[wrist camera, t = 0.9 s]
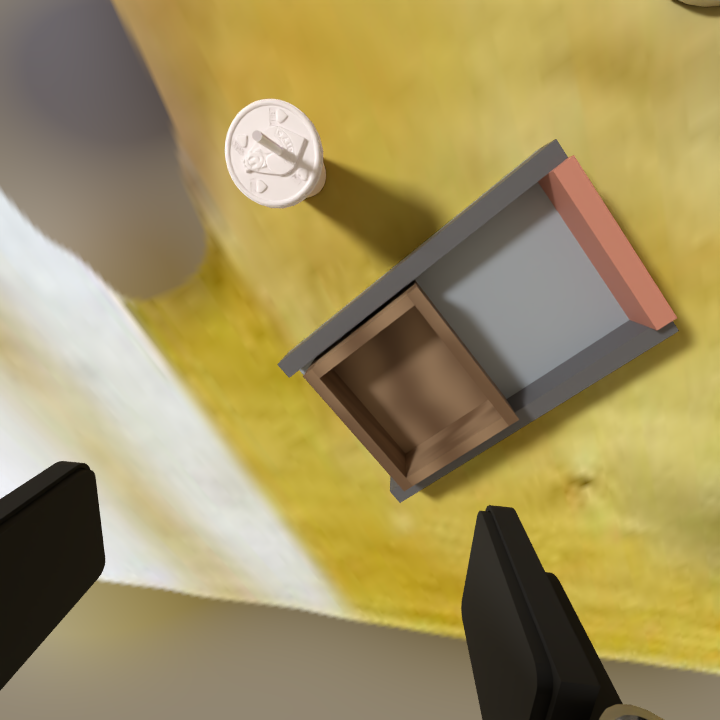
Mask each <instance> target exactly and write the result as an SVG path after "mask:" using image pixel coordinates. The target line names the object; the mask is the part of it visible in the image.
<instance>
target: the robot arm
mask: <svg viewBox="0 0 720 720" xmlns="http://www.w3.org/2000/svg"><path fill="white" fill-rule="evenodd" d="M679 1H681V2H684V3H686V4H690V5H696V6H703V7H708V6H720V0H679ZM104 566H105V553H104V544H103V536H102V528H101V519H100V511H99V502H98V494H97V485H96V477H95V473H94V472H93V471H91V470H90V467H89V466H88V465H87V464H85V463H77V462H67V461H59V462H57V463H55V464H53V465H52V466H50V467H49V468H47V469H46V470H44V471H43V472H41V473H40V474H38V475H37V476H35V477H33V478H32V479H30V480H29V481H27V482H26V483H24V484H23V485H21V486H20V487H18V488H17V489H15V490H14V491H12V492H11V493H9V494H7V495H6V496H4V497H3V498H1V499H0V690H1V689H2V688H3V687H4V686H5V685H6V683H7V682H8V681H9V680H10V679H11V678H12V677H13V675H14V674H15V673H16V672H17V671H18V669H19V668H20V667H21V666H22V665H23V664H24V663H25V662H26V660H27V659H28V658H29V657H30V656H31V655H32V654H33V652H34V651H35V650H36V649H37V648H38V647H39V646H40V644H41V643H42V642H43V641H44V640H45V639H46V638H47V636H48V635H49V634H50V633H51V632H52V631H53V629H54V628H55V627H56V626H57V625H58V624H59V623H60V621H61V620H62V619H63V618H64V617H65V616H66V615H67V613H68V612H69V611H70V610H71V609H72V608H73V607H74V605H75V604H76V603H77V602H78V601H79V600H80V598H81V597H82V596H83V595H84V594H85V593H86V592H87V590H88V589H89V588H90V587H91V586H92V585H93V584H94V582H95V581H96V580H97V579H98V578H99V576H100V575H101V573H102V571H103V569H104ZM461 609H462V620H463V625H464V630H465V635H466V640H467V645H468V650H469V655H470V659H471V664H472V669H473V674H474V679H475V685H476V689H477V694H478V699H479V704H480V709H481V714H482V719H483V720H664V719H662V718H660V717H658V716H657V715H655V714H653V713H651V712H650V711H648V710H645V709H642V708H639V707H636V706H633V705H627V704H622V702H621V700H620V698H619V696H618V694H617V692H616V690H615V688H614V686H613V684H612V682H611V680H610V678H609V677H608V675H607V673H606V671H605V669H604V667H603V665H602V663H601V661H600V659H599V657H598V655H597V653H596V651H595V649H594V647H593V645H592V643H591V641H590V640H589V638H588V636H587V634H586V632H585V630H584V628H583V626H582V624H581V622H580V620H579V618H578V616H577V614H576V612H575V610H574V608H573V607H572V605H571V603H570V601H569V599H568V597H567V595H566V593H565V591H564V589H563V587H562V585H561V583H560V581H559V580H558V578H557V577H556V576H555V575H554V574H552V573H548V572H545V571H544V569H543V567H542V565H541V563H540V560H539V558H538V556H537V554H536V552H535V550H534V548H533V546H532V544H531V542H530V540H529V538H528V536H527V534H526V532H525V530H524V528H523V525H522V523H521V521H520V519H519V517H518V515H517V513H516V511H515V510H514V508H510V507H501V506H491V505H489V506H487V508H486V511H479V512H478V515H477V520H476V526H475V531H474V537H473V542H472V548H471V553H470V559H469V564H468V570H467V575H466V581H465V586H464V592H463V597H462V607H461Z"/></svg>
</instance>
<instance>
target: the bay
mask: <svg viewBox="0 0 720 720" xmlns="http://www.w3.org/2000/svg"><path fill="white" fill-rule="evenodd" d="M414 280H416V282H417V283H418V284H419V286H420V287H421V288H422V290H423V291H424V292H425V294H426V295H427V296H428V297H429V299H430V300H431V301H432V303H433V304H434V305H435V307H436V308H437V309H438V310H439V312H440V313H441V314H442V316H443V317H444V318H445V320H446V321H447V322H448V323H449V325H450V326H451V327H452V329H453V330H454V331H455V333H456V334H457V335H458V336H459V338H460V339H461V340H462V342H463V343H464V344H465V346H466V347H467V348H468V349H469V351H470V352H471V353H472V355H473V356H474V357H475V359H476V360H477V361H478V362H479V364H480V365H481V366H482V368H483V369H484V370H485V372H486V373H487V374H488V375H489V377H490V378H491V379H492V381H493V382H494V383H495V385H496V386H497V387H498V388H499V390H500V391H501V392H502V394H503V395H504V396H505V398H506V399H507V401H508V403H509V404H510V406H511V407H512V409H513V410H514V412H515V414H516V415H517V417H518V418H519V420H518V421H516V422H515V423H513V424H512V425H510V426H508V427H507V428H505V429H504V430H502V431H500V432H499V433H497V434H496V435H494V436H492V437H491V438H489V439H488V440H486V441H484V442H483V443H481V444H480V445H478V446H476V447H475V448H473V449H472V450H470V451H468V452H467V453H465V454H464V455H462V456H460V457H459V458H457V459H455V460H454V461H452V462H451V463H449V464H447V465H446V466H444V467H443V468H441V469H439V470H438V471H436V472H435V473H433V474H431V475H430V476H428V477H427V478H425V479H423V480H422V481H420V482H419V483H417V484H415V485H414V486H412V487H411V488H409V489H407V490H406V491H403V490H402V489H401V487H400V486H399V485H398V484H397V483H396V482H395V481H394V479H393V478H392V477H391V478H390V492H391V493H392V494H393V495H394V497H395V498H396V499H397V500H398V501H399V502H400V503H401V502H402V501H404V500H406V499H407V498H409V497H410V496H412V495H414V494H415V493H417V492H419V491H420V490H422V489H423V488H425V487H427V486H428V485H430V484H431V483H433V482H435V481H436V480H438V479H440V478H441V477H443V476H444V475H446V474H448V473H449V472H451V471H453V470H454V469H456V468H457V467H459V466H461V465H462V464H464V463H466V462H467V461H469V460H470V459H472V458H474V457H475V456H477V455H479V454H480V453H482V452H483V451H485V450H487V449H488V448H490V447H491V446H493V445H495V444H496V443H498V442H500V441H501V440H503V439H504V438H506V437H508V436H509V435H511V434H513V433H514V432H516V431H517V430H519V429H521V428H522V427H524V426H526V425H527V424H529V423H530V422H532V421H534V420H535V419H537V418H539V417H540V416H542V415H543V414H545V413H547V412H548V411H550V410H551V409H553V408H555V407H556V406H558V405H560V404H561V403H563V402H564V401H566V400H568V399H569V398H571V397H573V396H574V395H576V394H577V393H579V392H581V391H582V390H584V389H586V388H587V387H589V386H590V385H592V384H594V383H595V382H597V381H599V380H600V379H602V378H603V377H605V376H607V375H608V374H610V373H612V372H613V371H615V370H616V369H618V368H620V367H621V366H623V365H624V364H626V363H628V362H629V361H631V360H633V359H634V358H636V357H637V356H639V355H641V354H642V353H644V352H646V351H647V350H649V349H650V348H652V347H654V346H655V345H657V344H659V343H660V342H662V341H663V340H665V339H667V338H668V337H670V336H672V335H673V334H675V333H676V332H678V331H679V330H678V329H677V327H676V325H675V324H674V322H673V320H675V319H676V318H677V317H676V315H675V314H674V312H673V310H672V309H671V307H670V306H669V304H668V303H667V301H666V299H665V298H664V296H663V295H662V293H661V292H660V290H659V288H658V287H657V285H656V284H655V282H654V281H653V279H652V277H651V276H650V274H649V273H648V271H647V270H646V268H645V266H644V265H643V263H642V262H641V260H640V259H639V257H638V255H637V254H636V252H635V251H634V249H633V248H632V246H631V244H630V243H629V241H628V240H627V238H626V237H625V235H624V233H623V232H622V230H621V229H620V227H619V226H618V224H617V222H616V221H615V219H614V218H613V216H612V215H611V213H610V211H609V210H608V208H607V207H606V205H605V204H604V202H603V200H602V199H601V197H600V196H599V194H598V193H597V191H596V189H595V188H594V186H593V185H592V183H591V182H590V180H589V178H588V177H587V175H586V174H585V172H584V170H583V169H582V167H581V166H580V164H579V163H578V161H577V159H576V158H575V156H574V155H573V156H571V157H569V158H568V157H567V155H566V154H565V152H564V150H563V149H562V147H561V146H560V144H559V143H558V141H557V139H555V140H553V141H552V142H550V143H548V144H547V145H545V146H543V147H542V148H540V149H538V150H537V151H536V152H535V153H533V154H532V155H531V156H530V157H528V158H527V159H526V160H525V161H523V162H522V163H521V164H520V165H519V166H517V167H516V168H515V169H514V170H512V171H511V172H510V173H509V174H507V175H506V176H505V177H504V178H503V179H501V180H500V181H499V182H498V183H496V184H495V185H494V186H493V187H491V188H490V189H489V190H488V191H487V192H485V193H484V194H483V195H482V196H480V197H479V198H478V199H477V200H475V201H474V202H473V203H472V204H471V205H469V206H468V207H467V208H466V209H464V210H463V211H462V212H461V213H459V214H458V215H457V216H456V217H454V218H453V219H452V220H451V221H450V222H448V223H447V224H446V225H445V226H443V227H442V228H441V229H440V230H438V231H437V232H436V233H435V234H434V235H432V236H431V237H430V238H429V239H427V240H426V241H425V242H424V243H422V244H421V245H420V246H419V247H418V248H416V249H415V250H414V251H413V252H411V253H410V254H409V255H408V256H406V257H405V258H404V259H403V260H402V261H400V262H399V263H398V264H397V265H395V266H394V267H393V268H392V269H390V270H389V271H388V272H387V273H386V274H384V275H383V276H382V277H381V278H379V279H378V280H377V281H376V282H374V283H373V284H372V285H371V286H370V287H368V288H367V289H366V290H365V291H363V292H362V293H361V294H360V295H358V296H357V297H356V298H355V299H354V300H352V301H351V302H350V303H349V304H347V305H346V306H345V307H344V308H342V309H341V310H340V311H339V312H338V313H336V314H335V315H334V316H333V317H331V318H330V319H329V320H328V321H326V322H325V323H324V324H323V325H321V326H320V327H319V328H318V329H317V330H315V331H314V332H313V333H312V334H310V335H309V336H308V337H307V338H305V339H304V340H303V341H302V342H301V343H299V344H298V345H297V346H296V347H294V348H293V349H292V350H291V351H289V352H288V353H287V355H286V356H285V357H284V358H283V359H282V360H281V361H280V362H279V363H278V364H277V365H278V366H279V367H280V368H281V369H282V370H283V371H284V373H285V374H286V375H287V376H288V377H291V376H292V375H293V374H295V373H296V372H297V371H298V370H300V371H301V372H302V373H303V375H304V374H305V372H306V371H307V370H308V368H309V367H310V365H311V364H312V362H313V361H314V359H315V358H316V357H318V356H319V355H320V354H321V353H323V352H324V351H325V350H326V349H328V348H329V347H330V346H331V345H333V344H334V343H335V342H337V341H338V340H339V339H340V338H342V337H343V336H344V335H345V334H347V333H348V332H349V331H351V330H352V329H353V328H354V327H356V326H357V325H358V324H359V323H361V322H362V321H363V320H364V319H366V318H367V317H368V316H370V315H371V314H372V313H373V312H375V311H376V310H377V309H378V308H380V307H381V306H382V305H384V304H385V303H386V302H387V301H389V300H390V299H391V298H392V297H394V296H395V295H396V294H397V293H399V292H400V291H401V290H403V289H404V288H405V287H406V286H408V285H409V284H410V283H411V282H413V281H414Z"/></svg>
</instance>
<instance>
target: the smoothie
mask: <svg viewBox="0 0 720 720" xmlns="http://www.w3.org/2000/svg"><path fill="white" fill-rule="evenodd" d="M225 158H226V164H227V167H228V170H229V173H230V175H231V178H232V179H233V181H234V183H235V184H236V186H237V187H238V188H239V189H240V191H241V192H242V193H243V194H244V195H246V196H247V197H248V198H250V199H251V200H253V201H255V202H257V203H258V204H260V205H264V206H267V207H270V208H286V207H290V206H294V205H296V204H298V203H299V202H301V201H303V200H304V199H306V198H308V197H312V196H314V195H316V194H317V193H319V192H320V191H321V189H322V188H323V186H324V184H325V180H326V169H325V166H324V163H323V148H322V144H321V140H320V136H319V134H318V132H317V130H316V128H315V126H314V124H313V123H312V122H311V121H310V120H309V118H308V117H307V116H306V115H305V114H304V113H303V112H301V111H300V110H299V109H298V108H296V107H295V106H293V105H292V104H290V103H287V102H285V101H282V100H277V99H263V100H259V101H256V102H253V103H251V104H249V105H247V106H246V107H245V108H243V109H242V110H241V111H240V112H239V113H238V114H237V115H236V117H235V118H234V120H233V121H232V123H231V125H230V127H229V130H228V133H227V137H226V142H225Z"/></svg>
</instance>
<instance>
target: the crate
mask: <svg viewBox="0 0 720 720" xmlns="http://www.w3.org/2000/svg"><path fill="white" fill-rule="evenodd" d="M303 377H304V378H305V379H306V380H307V382H308V383H309V384H310V385H311V386H312V387H313V388H314V389H315V391H316V392H317V393H318V394H319V395H320V396H321V397H322V399H323V400H324V401H325V402H326V403H327V404H328V405H329V407H330V408H331V409H332V410H333V411H334V412H335V413H336V415H337V416H338V417H339V418H340V419H341V420H342V421H343V422H344V424H345V425H346V426H347V427H348V428H349V429H350V430H351V432H352V433H353V434H354V435H355V436H356V437H357V438H358V440H359V441H360V442H361V443H362V444H363V445H364V446H365V448H366V449H367V450H368V451H369V452H370V453H371V454H372V456H373V457H374V458H375V459H376V460H377V461H378V462H379V463H380V465H381V466H382V467H383V468H384V469H385V470H386V471H387V473H388V474H389V475H390V476H391V477H392V478H393V479H394V481H395V482H396V483H397V484H398V485H399V486H400V487H401V489H402V490H403V491H406V490H407V489H409V488H411V487H412V486H414V485H415V484H417V483H419V482H420V481H422V480H423V479H425V478H427V477H428V476H430V475H431V474H433V473H435V472H436V471H438V470H439V469H441V468H443V467H444V466H446V465H447V464H449V463H451V462H452V461H454V460H455V459H457V458H459V457H460V456H462V455H464V454H465V453H467V452H468V451H470V450H472V449H473V448H475V447H476V446H478V445H480V444H481V443H483V442H484V441H486V440H488V439H489V438H491V437H492V436H494V435H496V434H497V433H499V432H500V431H502V430H504V429H505V428H507V427H508V426H510V425H512V424H513V423H515V422H516V421H518V420H519V418H518V417H517V415H516V414H515V412H514V410H513V409H512V407H511V406H510V404H509V403H508V401H507V399H506V398H505V396H504V395H503V394H502V392H501V391H500V390H499V388H498V387H497V386H496V385H495V383H494V382H493V381H492V379H491V378H490V377H489V375H488V374H487V373H486V372H485V370H484V369H483V368H482V366H481V365H480V364H479V362H478V361H477V360H476V359H475V357H474V356H473V355H472V353H471V352H470V351H469V349H468V348H467V347H466V346H465V344H464V343H463V342H462V340H461V339H460V338H459V336H458V335H457V334H456V333H455V331H454V330H453V329H452V327H451V326H450V325H449V323H448V322H447V321H446V320H445V318H444V317H443V316H442V314H441V313H440V312H439V310H438V309H437V308H436V307H435V305H434V304H433V303H432V301H431V300H430V299H429V297H428V296H427V295H426V294H425V292H424V291H423V290H422V288H421V287H420V286H419V284H418V283H417V282H416V280H414V281H413V282H411V283H410V284H409V285H408V286H406V287H405V288H404V289H403V290H401V291H400V292H399V293H397V294H396V295H395V296H394V297H392V298H391V299H390V300H389V301H387V302H386V303H385V304H384V305H382V306H381V307H380V308H378V309H377V310H376V311H375V312H373V313H372V314H371V315H370V316H368V317H367V318H366V319H364V320H363V321H362V322H361V323H359V324H358V325H357V326H356V327H354V328H353V329H352V330H351V331H349V332H348V333H347V334H345V335H344V336H343V337H342V338H340V339H339V340H338V341H337V342H335V343H334V344H333V345H331V346H330V347H329V348H328V349H326V350H325V351H324V352H323V353H321V354H320V355H319V356H318V357H316V358H315V359H314V361H313V362H312V364H311V365H310V367H309V368H308V370H307V371H306V372H305V374H304V375H303Z"/></svg>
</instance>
